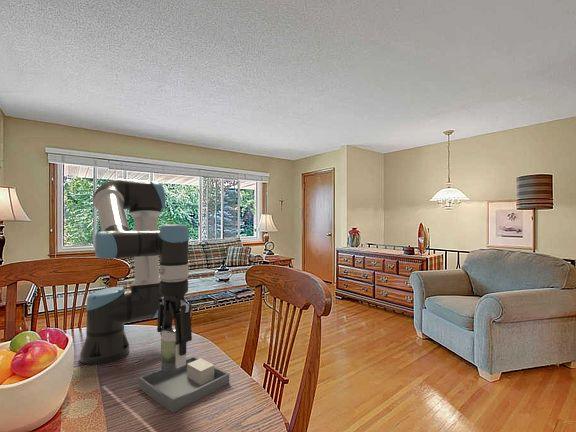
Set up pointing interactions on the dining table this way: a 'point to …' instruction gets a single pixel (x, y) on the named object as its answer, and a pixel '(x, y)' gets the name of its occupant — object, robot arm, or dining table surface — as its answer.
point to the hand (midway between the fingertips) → (173, 362)
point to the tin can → (168, 349)
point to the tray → (179, 386)
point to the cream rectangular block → (200, 371)
